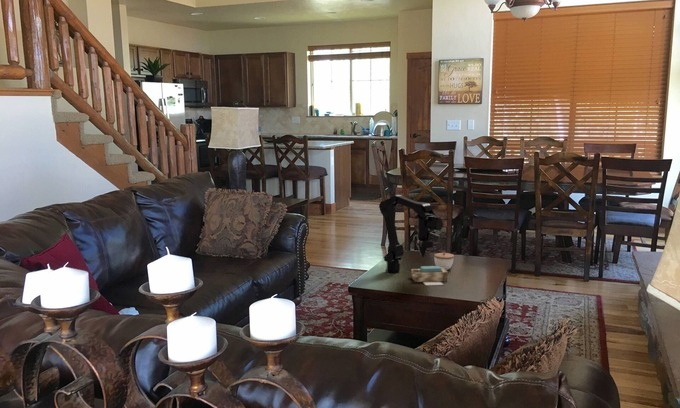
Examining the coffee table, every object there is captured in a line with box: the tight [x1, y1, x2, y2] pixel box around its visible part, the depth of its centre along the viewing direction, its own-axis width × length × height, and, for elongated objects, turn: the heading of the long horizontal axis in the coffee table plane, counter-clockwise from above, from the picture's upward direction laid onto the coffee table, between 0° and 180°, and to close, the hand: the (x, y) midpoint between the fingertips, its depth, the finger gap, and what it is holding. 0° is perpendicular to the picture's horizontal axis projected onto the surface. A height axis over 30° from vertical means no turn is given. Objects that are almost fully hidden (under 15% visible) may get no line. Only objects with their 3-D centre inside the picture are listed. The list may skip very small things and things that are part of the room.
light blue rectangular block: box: [419, 265, 441, 273], centre depth 295 cm, size 10×4×4 cm, turn 96°
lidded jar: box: [433, 251, 455, 271], centre depth 316 cm, size 11×11×9 cm
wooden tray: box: [410, 267, 449, 283], centre depth 295 cm, size 17×8×5 cm, turn 96°
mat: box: [422, 281, 444, 287], centre depth 287 cm, size 9×5×1 cm, turn 96°
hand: (422, 257), depth 293 cm, fingers closed
